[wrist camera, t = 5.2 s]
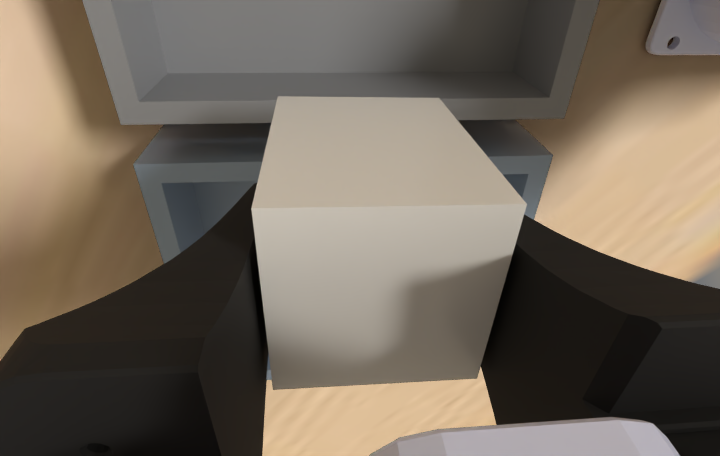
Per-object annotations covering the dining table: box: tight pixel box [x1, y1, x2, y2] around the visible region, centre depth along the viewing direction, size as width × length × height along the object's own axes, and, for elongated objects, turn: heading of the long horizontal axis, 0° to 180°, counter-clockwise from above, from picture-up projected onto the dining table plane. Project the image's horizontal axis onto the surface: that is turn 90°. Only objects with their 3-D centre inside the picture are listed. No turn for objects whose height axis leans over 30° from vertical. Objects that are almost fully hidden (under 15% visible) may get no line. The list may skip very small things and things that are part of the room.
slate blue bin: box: [133, 119, 553, 380], centre depth 22 cm, size 16×13×4 cm
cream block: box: [251, 96, 527, 390], centre depth 11 cm, size 4×4×6 cm
